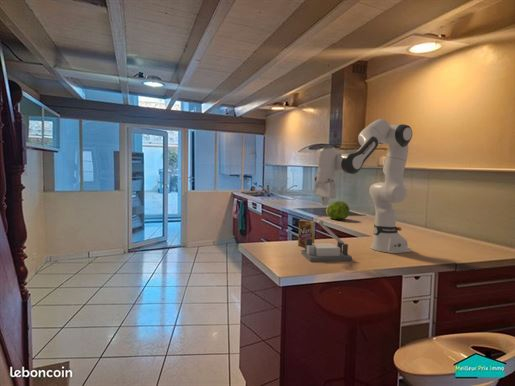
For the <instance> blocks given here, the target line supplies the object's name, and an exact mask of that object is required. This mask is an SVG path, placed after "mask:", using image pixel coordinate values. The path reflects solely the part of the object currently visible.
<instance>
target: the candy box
mask: <svg viewBox="0 0 515 386" xmlns="http://www.w3.org/2000/svg"><path fill="white" fill-rule="evenodd" d="M315 233H316V220H306V219H300V220H298V235H297V236H298V237H297V238H298V239H297V240H298V241H297V246H300V247H304V248H305V238H311V239H312V244H315V239H316V238H315Z"/></svg>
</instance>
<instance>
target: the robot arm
mask: <svg viewBox="0 0 515 386" xmlns="http://www.w3.org/2000/svg"><path fill="white" fill-rule="evenodd" d="M412 137H413V130H412V127H411V126H410V125H408V124H403V123H402V124H390V123H389V122H388V120H387V119H383V118H378V119H376V120H374V121H372V122H371V123H370V124H368V125H366V126H365V127H364V128H363V129H362V130H361V131H360V132H359V134H358V137H357V139H358V143H359V145H360V147H359V149H357V150H356V151H355V152H351V153H342V152H340V151H338V150H337V148H336V147H334V146H326V147H322V148H320V149H319V151H318V156H317V167H318V168H317V171H316V173H317V174H316V175H315V176H314V179H313V180H314V193H315V196H320V200H321V205H322V206H324V207H326V206H327V207H328V202H329V200H330V199H336V198H337V184H336V181H335V180H336V179H335V178H336V173H341V174H343V173H344V174H351V175H354V174H357V173H358V172H360V171H361V169H362V168H363V166H364V163H366V161H367V159H368V158H370V156H371V155H372V154H373V153H374V152H375V150H376V149H377V147H378V146H379V145H388V150H387V153H386V156H385V159H384V164H383V167H382V173H383V174H384V182H382V181H379V182H375V183H373V184H371V185H370V187H369V190H368V193H369V196H370V197H371V198H372V201H373V206H374V211H375V215H374V219H375V220H374V225H373V238H372V243H371V245H370V249H371V250H372V251H373V250H374V251H377V252H381V253H382V252H384V253H388V254H400V253H401V254H402V253H412V251H413V250H412V248H410V247H409V246H408V245H409V244H408V241H407V239H406V238H405V237H404V236H402V235H401V234H400V233H399V232H401V231H402V229H403V228H402V227H400V226H396V223H397V222H396V220H397V213H396V210H395V209H394V208H393V205H392V204H393V203H394V204H395V203H403V202H404V201H405V199H406V198H407V196H408V190H407V188H406V187H405V184H404V171H405V168H406V165H407V160H408V156H409V155H408V154H409V143H410V142H411V140H412Z"/></svg>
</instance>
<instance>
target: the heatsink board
mask: <svg viewBox="0 0 515 386" xmlns="http://www.w3.org/2000/svg"><path fill="white" fill-rule="evenodd" d="M348 252H349V244H348V243H344V244H343V245H342V244H341V243H339V242H338V241H337V245H336V244H334V243H333V242H332V243H329V242H328V243H327V242H326V243H325V242H323V243H321V242H320V243H319V242H317V243H314V244H312V239H311V238H305V247H304V249H301V255H302V256H303V257H304V258H305V259H307V260H308V261H309V262H331V261H332V262H340V261H341V262H342V261H343V262H345V261H346V262H347V261H352V260H353V258H352V257H353V256H352V255H350V254H348Z"/></svg>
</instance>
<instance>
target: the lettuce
mask: <svg viewBox="0 0 515 386" xmlns="http://www.w3.org/2000/svg"><path fill="white" fill-rule="evenodd" d="M325 213H326V215H327V216H328V217H329V218H331V219H333V220H336V219H337V220H336V221H341V220H342V221H343V220H345V219H347V218H348V216H349V214H350V207H349V204H348V203H346V202H345V201H340V200H337V201H333V202H331V203H329V205H327V207H326V209H325Z"/></svg>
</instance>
